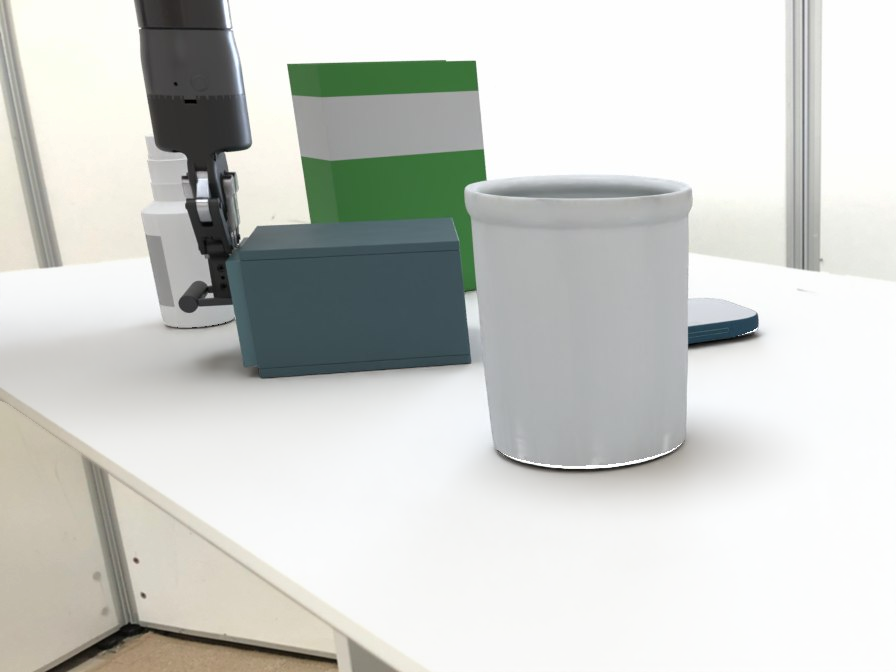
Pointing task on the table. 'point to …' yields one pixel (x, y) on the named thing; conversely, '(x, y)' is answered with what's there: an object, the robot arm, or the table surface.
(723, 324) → the external hard drive
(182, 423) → the table surface
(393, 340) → the cabinet
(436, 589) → the table surface
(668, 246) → the utensil holder
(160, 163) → the spray bottle
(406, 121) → the green cereal box
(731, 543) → the table surface
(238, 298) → the drawer
